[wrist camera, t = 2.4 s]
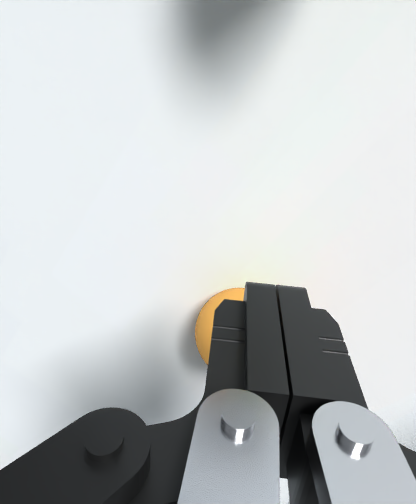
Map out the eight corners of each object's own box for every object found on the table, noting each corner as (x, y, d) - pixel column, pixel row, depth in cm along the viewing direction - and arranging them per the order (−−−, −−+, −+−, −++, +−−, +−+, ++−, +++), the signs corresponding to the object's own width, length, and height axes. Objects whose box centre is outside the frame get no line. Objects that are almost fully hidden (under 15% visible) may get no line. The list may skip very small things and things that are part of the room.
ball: (288, 276, 25) (298, 332, 20) (274, 342, 27) (280, 406, 22) (203, 266, 25) (191, 319, 20) (198, 333, 27) (186, 394, 22)
